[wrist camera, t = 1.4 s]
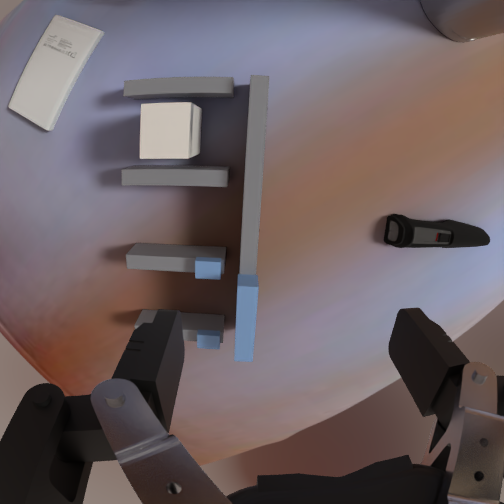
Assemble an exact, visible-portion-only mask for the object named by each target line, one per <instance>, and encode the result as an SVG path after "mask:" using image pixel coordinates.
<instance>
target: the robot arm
mask: <svg viewBox="0 0 504 504" xmlns="http://www.w3.org/2000/svg"><path fill="white" fill-rule="evenodd" d="M420 1H421V4H422V7H423V9H424V12H425V14H426V15H427V17H428V18H429V20H430V21H431V22H432V24H433V25H434V26H435V27H436V28H437V29H438V30H439V31H440V32H441V33H442V34H444V35H445V36H446V37H448V38H450V39H452V40H454V41H457V42H468V41H473V40H476V39H479V38H483V37H488V36H492V35H496V34H501V33H504V0H420ZM389 355H390V358H391V360H392V361H393V363H394V365H395V367H396V368H397V370H398V372H399V374H400V375H401V377H402V379H403V381H404V383H405V384H406V386H407V388H408V390H409V392H410V393H411V395H412V397H413V399H414V401H415V403H416V405H417V407H418V408H419V410H420V412H421V414H422V416H423V417H425V416H429V415H433V414H436V416H437V418H436V419H435V421H434V423H433V426H432V430H431V434H430V437H429V440H428V444H427V447H426V450H425V453H424V457H423V459H422V462H421V464H412V463H411V460H410V458H409V455H405V456H402V457H397V458H393V459H389V460H385V461H380V462H376V463H374V464H371V465H369V466H367V467H364V468H363V469H360V470H358V471H355V472H353V473H351V474H348V475H345V476H342V477H328V476H317V475H307V474H299V473H298V474H283V475H260V476H259V475H258V477H257V485H255V486H252V487H247V488H244V489H241V490H239V491H236V492H234V493H232V494H230V495H228V496H225V495H224V494H223V493H222V492H221V491H220V489H219V488H218V487H217V486H216V485H215V484H214V483H213V481H212V480H211V479H210V478H209V477H208V476H207V474H206V473H205V472H204V471H203V470H202V469H201V467H200V466H199V465H198V464H197V462H196V461H195V460H194V459H193V457H192V456H191V455H190V454H189V452H188V451H187V450H186V449H185V447H184V446H183V445H182V443H181V442H180V441H179V440H178V439H177V437H176V436H174V435H173V434H172V435H169V434H168V433H169V429H170V424H171V419H172V414H173V409H174V405H175V400H176V395H177V390H178V386H179V381H180V377H181V372H182V368H183V363H184V339H183V330H182V320H181V313H180V311H179V310H163V309H159V310H158V311H157V313H156V315H155V318H154V320H153V322H152V323H145V322H144V323H142V324H141V325H140V326H139V327H138V328H136V329H135V330H134V332H133V334H132V336H131V338H130V340H129V342H128V344H127V346H126V350H124V352H123V355H122V357H121V359H120V361H119V363H118V365H117V368H116V370H115V372H114V374H113V376H112V379H109V380H106V381H103V382H101V383H100V384H98V385H97V386H96V387H95V388H94V389H93V391H92V393H91V394H90V395H81V396H67V397H65V396H64V394H63V392H62V390H61V389H60V388H59V387H58V386H56V385H54V384H49V383H43V384H39V385H36V386H34V387H32V388H31V389H29V390H28V391H27V392H26V394H25V395H24V397H23V399H22V400H21V402H20V404H19V406H18V407H17V410H16V411H15V413H14V415H13V417H12V419H11V421H10V423H9V425H8V427H7V429H6V431H5V433H4V435H3V437H2V439H1V441H0V504H83V500H84V496H85V492H86V487H87V483H88V479H89V475H90V471H91V467H92V464H93V462H95V461H110V460H118V462H119V464H120V466H121V468H122V470H123V472H124V473H125V475H126V477H127V479H128V480H129V482H130V484H131V486H132V487H133V489H134V491H135V492H136V494H137V496H138V497H139V499H140V500H141V502H142V504H504V503H502V502H500V501H499V499H500V493H501V487H502V480H503V478H504V376H496V374H495V372H494V371H493V370H492V369H491V368H490V367H488V366H487V365H485V364H483V363H480V362H469V360H468V359H467V358H466V357H465V355H464V354H463V353H462V352H461V351H460V349H459V348H458V347H457V346H456V344H455V343H454V342H452V340H451V338H450V337H449V336H447V334H446V332H445V331H444V330H443V329H442V328H441V327H440V326H439V325H438V324H436V323H435V322H433V321H432V320H430V319H429V318H428V317H427V316H426V315H425V314H424V312H423V311H422V310H421V309H420V308H406V309H400V310H399V312H398V314H397V317H396V321H395V324H394V328H393V331H392V334H391V338H390V341H389Z"/></svg>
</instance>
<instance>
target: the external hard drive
mask: <svg viewBox="0 0 504 504" xmlns="http://www.w3.org/2000/svg"><path fill="white" fill-rule="evenodd" d="M104 34H105V33H104V32H103V31H101V30H98V29H96V28H93V27H90V26H87V25H85V24H82V23H79V22H76V21H74V20H71V19H68V18H65V17H62V16H59V15H55V16H54V18H53V19H52V21H51V22H50V24H49V26H48V27H47V29H46V31H45V32H44V34H43V36H42V37H41V39H40V41H39V43H38V44H37V46H36V48H35V50H34V52H33V54H32V56H31V57H30V59H29V61H28V63H27V65H26V67H25V69H24V71H23V73H22V75H21V77H20V80H19V82H18V84H17V86H16V89H15V91H14V93H13V96H12V98H11V101H10V103H9V105H8V107H9V108H10V109H12V110H14V111H15V112H17V113H19V114H20V115H22V116H24V117H25V118H27V119H29V120H30V121H32V122H33V123H35V124H37V125H38V126H40V127H42V128H44V129H45V130H47V131H52V130H53V128H54V126H55V124H56V121H57V119H58V117H59V115H60V113H61V110H62V108H63V106H64V104H65V102H66V100H67V98H68V96H69V94H70V92H71V90H72V88H73V86H74V84H75V82H76V81H77V79H78V77H79V75H80V73H81V71H82V70H83V68H84V66H85V64H86V63H87V61H88V59H89V58H90V56H91V54H92V53H93V51H94V49H95V48H96V46H97V44H98V43H99V41H100V40H101V38H102V37H103V35H104Z"/></svg>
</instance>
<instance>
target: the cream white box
mask: <svg viewBox="0 0 504 504" xmlns="http://www.w3.org/2000/svg"><path fill="white" fill-rule="evenodd" d="M201 123H202V109H201V108H199V107H198V106H196V105H194V104H193V103H191V102H176V103H150V104H141V123H140V159H188V158H191V157H193V156H195V155H198V154H200V144H201Z"/></svg>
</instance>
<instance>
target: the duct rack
mask: <svg viewBox="0 0 504 504" xmlns="http://www.w3.org/2000/svg"><path fill="white" fill-rule="evenodd" d="M268 89H269V76H259V75H251V79H250V90H249V105H248V121H247V137H246V154H245V171H244V189H243V207H242V226H241V245H240V265H239V274H238V284H237V307H236V330H235V359H234V361H246V362H253V350H254V338H255V326H256V313H257V301H258V288H259V286H258V276H257V275H256V265H257V251H258V237H259V223H260V209H261V194H262V180H263V165H264V150H265V135H266V120H267V105H268ZM123 96H125V97H128V98H132V99H152V98H178V97H219V98H234V78H233V77H172V78H153V79H140V80H129V81H124V95H123ZM229 169H230V167H225V166H188V165H139V166H131V167H128V168H125V169H122V185H172V186H211V187H227V186H228V183H229ZM126 261H127V268H129V269H144V270H161V271H178V272H195V278H198V279H218V280H220V278H221V274H224V270H225V263H226V247H215V246H193V245H171V244H149V243H136V244H135V245H134V246H133V247H132V248H131V250H130V251H129V252H128V253H127V254H126ZM157 311H158V310H146V309H143V310H142V312H141V314H140V316H139V318H138V319H137V321H136V323H135V329H136V328H138V327H139V326H140V325H141V324H142V323H144V322H145V323H152V322H153V320H154V318H155V315H156V313H157ZM180 313H181V320H182V330H183V339H184V340H186V341H197V347H198V348H206V349H220V343H223V334H224V315H217V314H200V313H184V312H180Z"/></svg>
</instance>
